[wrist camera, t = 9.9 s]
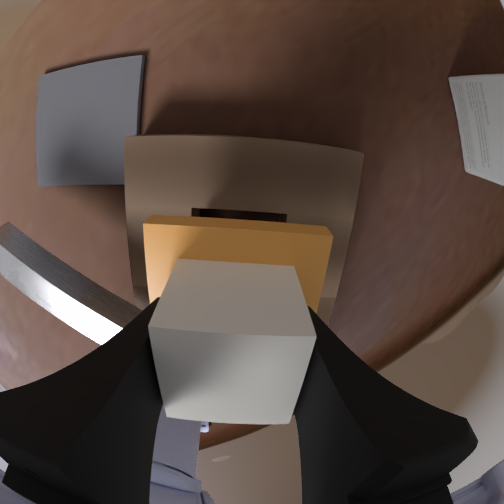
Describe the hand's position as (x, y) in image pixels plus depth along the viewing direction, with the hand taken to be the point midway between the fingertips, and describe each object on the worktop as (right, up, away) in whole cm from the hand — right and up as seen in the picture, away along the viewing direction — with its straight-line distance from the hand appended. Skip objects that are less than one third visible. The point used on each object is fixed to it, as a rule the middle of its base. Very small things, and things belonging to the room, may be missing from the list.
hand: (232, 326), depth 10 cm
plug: (0, +2, +5) cm, 5 cm away
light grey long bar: (-9, +1, +6) cm, 10 cm away
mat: (-10, +11, +5) cm, 15 cm away
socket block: (0, +4, +8) cm, 9 cm away
